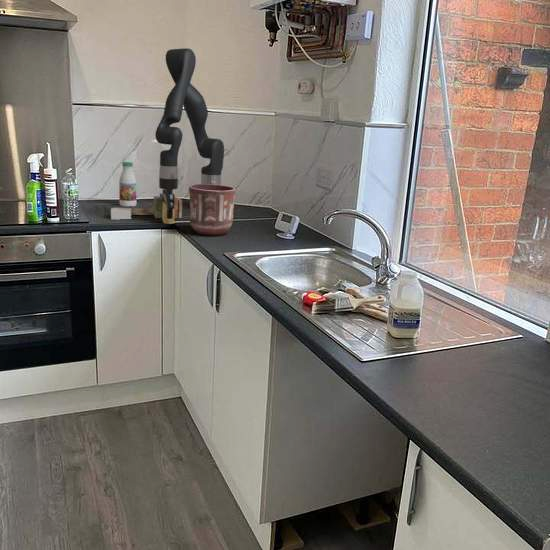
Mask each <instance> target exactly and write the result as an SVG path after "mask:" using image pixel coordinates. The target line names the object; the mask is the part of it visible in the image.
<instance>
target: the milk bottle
mask: <svg viewBox="0 0 550 550" xmlns="http://www.w3.org/2000/svg"><path fill="white" fill-rule="evenodd" d="M133 164H134V163H133V162H130V161H122V172H121V174H120V176H119V181H118V182H119V189H118V190H119V191H118V193H119V206H121V207H125V208H131V207H136V206H137V178H136V176H135V174H134V171H133V169H134V165H133ZM130 206H131V207H130Z"/></svg>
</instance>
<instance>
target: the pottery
mask: <svg viewBox="0 0 550 550" xmlns="http://www.w3.org/2000/svg"><path fill="white" fill-rule="evenodd" d="M236 191H237V189H236V188H234V187H233V186H230V185H225V184H221V185H216V184H201V183H196V184H194V183H193V184H191V185H189V187H188V194H189V222H190V226H191V228H192V229H193V230H194V232H195V233H196V234H199V235H202V236H208V237H209V236H210V237H211V236H212V237H214V236H224V235H225V234H226V233H228V231H229V230H230V229H231V227H232V225H233V221H234V205H235V196H236Z"/></svg>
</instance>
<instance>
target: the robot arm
mask: <svg viewBox="0 0 550 550" xmlns="http://www.w3.org/2000/svg"><path fill="white" fill-rule="evenodd" d="M195 54H196V53H194V51H193V50H192V49H191V48H185V47H184V48H173V49H169V50H167V51H166V54H165V64H166V67H167V70H168V72H169V75H170V77H171V78H172V80H173V83H174V84H175V85H174V86H173V88H172V89H171V90H170V92H169V93H168V95H167V97H166V101H165V104H164V109H163V110H164V111H163V114H162V116H161V120H160V121H159V123H158V125H157V127H156V129H155V134H154V135H155V140H156V141H157V143H158V144H160V145H169V146H170V148H169V149H167V150H166V149H165V150H161V151H160V153H159V169H158V170H159V172H158V173H159V174H158V175H159V176H158V181H159V183H158V185H159V186H158V187H159V189H162V193H163V202H165V204H166V205H167V218H168V219H172V218H173V209H174V197H175V194H174V193H173V190H178V188H179V182H178V181H179V170H178V168H179V167H178V164H179V163H178V155H179V152H180V151H179V150H180V147H181V144H182V141H183V131H182V130H181V128H180V127H176V126H171V125H173V124H177V123H180V122H181V120H182V114H183V108H184V111H185V114H186V117H187V118H188V119H187V120H189V123H190V127H191V130H192V134H193V137H194V141H195V145H196V150H197V151H198V153H199V155H200V157H201V158H203V159H209V163H208V164H207V165H205V166H202V167H201V170H200V184H216V185H222V170H223V168H224V156H225V145H224V142H223V141H222V139H219V138H211V137H209V136H208V133H207V131H206V123H207V119H208V115H209V111H208V106H207V104H206V102H205V101H206V100H205V98H204V96H203V95H202V93H201V92H200V91H199V90H198V89H197V88H196V87H195V86H194V85H193V84H192V83H191V82H192V78H193V75H194V72H195V70H196V69H195V68H196V64H197V60H196V59H197V58H196V55H195ZM163 202H162V203H163ZM169 205H171V206H169Z"/></svg>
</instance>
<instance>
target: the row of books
mask: <svg viewBox="0 0 550 550" xmlns="http://www.w3.org/2000/svg"><path fill="white" fill-rule="evenodd" d="M174 195H175V194H174ZM162 202H163V192H159V196H158V195H157V196H153V208H131V215H154V216H155V217H154V216H153V217H154V218H155V219H156V218H162V208H163V203H162ZM111 209H112V208H110V210H109V211H110V212H111ZM178 217H179V218H182V219H183V200H182V199H181V198H179V197H178V196H177V195H175V197H174V218H178ZM179 218H178V219H179Z"/></svg>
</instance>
